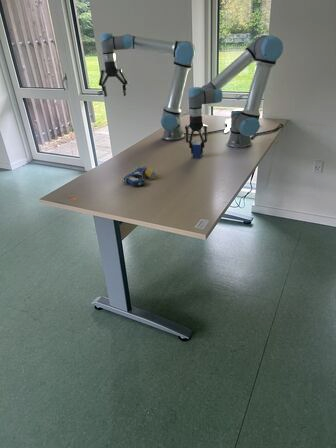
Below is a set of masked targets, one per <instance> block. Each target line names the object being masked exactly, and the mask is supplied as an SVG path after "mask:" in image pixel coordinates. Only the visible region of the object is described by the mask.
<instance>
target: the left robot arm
mask: <svg viewBox="0 0 336 448" xmlns="http://www.w3.org/2000/svg"><path fill="white" fill-rule="evenodd" d="M99 36H100V44H101V50H102V57H103V61H104V68H105V69H101V70H100V77H99V81H98V86H100V87H101V90H102V92H103V96H104V98H106V97H108V92H107V87H106V83H107V81H108V79H109V78H117V80H118V81H119V82H120V83H121V84H122V92H123V97H125V96H127V89H128V88H127V85H128V84H129V83H130V82H129V80H128V78H127V76H126V75H125V74H124V72H123V68H118V64H117V61H116V60H117V58H116V52H115V51H121V50H131V49H133V50H137V51H145V52H151V53H157V54H161V55H162V54H163V55H167V56H172V57H173V58H174V59H173V63H172V64H173V66H174V70H173V76H172V79H171V85H170V90H169V94H168V98H167V103H166V105H165V106H163V108H162V116H161V118H160V124H161V127H162V128H163V129H164V130H163V135H162V139H163V140H164V141H167V142H176V141H180V140H182V139H184V137H185V136H186V132H183V129H182V126H181V113H182V110H181V109H180V107H181V103H182V99H183V94H184V90H185V88H186V82H187V77H188V73H189V71H190V70H191V69H192V66H193V64H194V63H193V62H194V60H195V59H194V58H195V55H196V48H195V45H194V44H193V43H192V41H191V42H190V41H187V40H182V41H180V40H175V41H169V40H162V39H158V38H157V39H156V38H150V37H144V36H139V35H138V36H136V35H131V34H129V33H126V34H124V35H115V36H114V35H113V33H111V32H110V33H109V32H107V33H101V34H100V35H99ZM118 73H119V74H118ZM105 74H106V75H105ZM104 76H105V78H104ZM225 129H226V128H223V129H218V130H212V131H207V135H208V134H212V133H217V132H224V131H225ZM229 130H231V127H230V129H229ZM202 135H205V134H204V132H202ZM189 136H191V133H189ZM193 136H200V134H199V133H193Z"/></svg>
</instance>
